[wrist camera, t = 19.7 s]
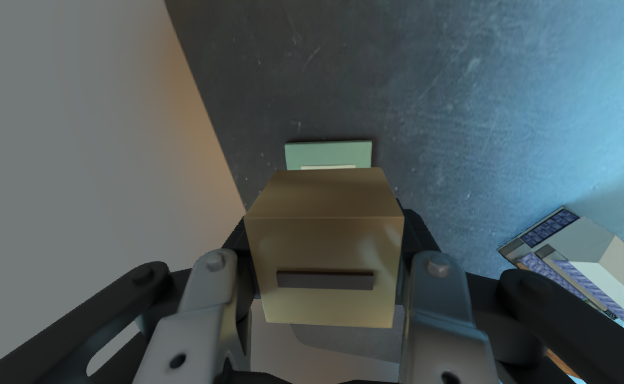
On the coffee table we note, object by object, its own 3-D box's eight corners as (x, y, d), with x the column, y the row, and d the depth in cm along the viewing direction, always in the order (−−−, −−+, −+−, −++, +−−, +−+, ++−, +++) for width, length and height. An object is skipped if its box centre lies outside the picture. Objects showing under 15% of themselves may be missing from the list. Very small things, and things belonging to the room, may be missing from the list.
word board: (299, 270, 33) (298, 274, 32) (285, 142, 25) (283, 144, 25) (364, 271, 32) (365, 276, 31) (371, 139, 24) (372, 141, 23)
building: (607, 314, 31) (672, 371, 25) (483, 262, 29) (520, 310, 23) (689, 261, 27) (792, 315, 21) (548, 197, 25) (616, 235, 19)
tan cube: (287, 251, 12) (265, 326, 9) (275, 170, 10) (240, 220, 7) (376, 252, 12) (393, 333, 8) (381, 166, 10) (406, 219, 6)
